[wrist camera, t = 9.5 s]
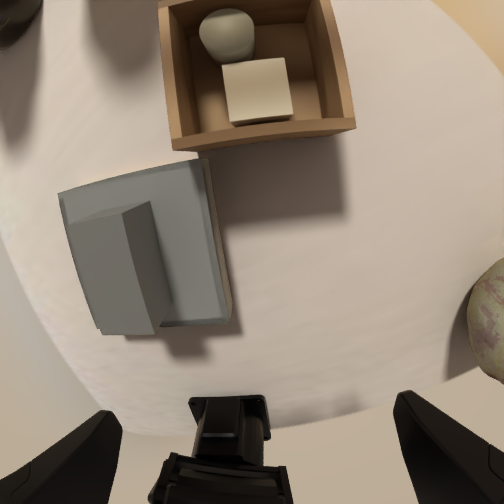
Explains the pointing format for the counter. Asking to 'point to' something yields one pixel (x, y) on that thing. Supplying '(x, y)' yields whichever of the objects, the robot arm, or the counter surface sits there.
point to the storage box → (252, 72)
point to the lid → (149, 249)
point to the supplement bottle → (16, 19)
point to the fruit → (488, 321)
